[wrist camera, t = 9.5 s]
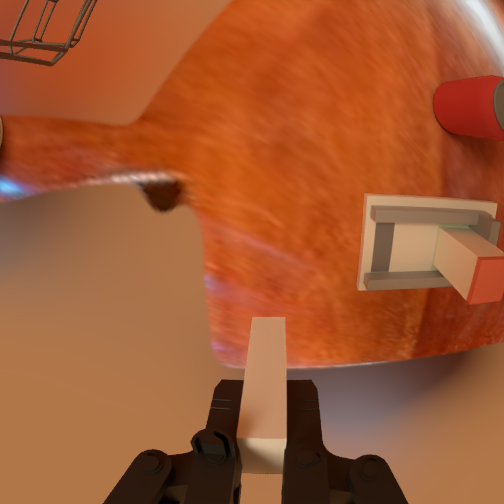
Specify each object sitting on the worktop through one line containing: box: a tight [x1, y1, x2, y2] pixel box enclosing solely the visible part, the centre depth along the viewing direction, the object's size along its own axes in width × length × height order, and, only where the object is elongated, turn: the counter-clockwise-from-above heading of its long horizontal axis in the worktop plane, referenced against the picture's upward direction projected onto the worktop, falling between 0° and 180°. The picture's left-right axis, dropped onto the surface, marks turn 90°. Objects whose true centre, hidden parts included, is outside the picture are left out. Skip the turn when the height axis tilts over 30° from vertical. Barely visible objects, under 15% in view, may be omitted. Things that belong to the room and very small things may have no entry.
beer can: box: [433, 75, 504, 141], centre depth 22 cm, size 7×7×12 cm
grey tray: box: [356, 193, 501, 291], centre depth 32 cm, size 20×12×6 cm, turn 93°
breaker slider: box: [433, 227, 504, 305], centre depth 28 cm, size 5×5×10 cm
